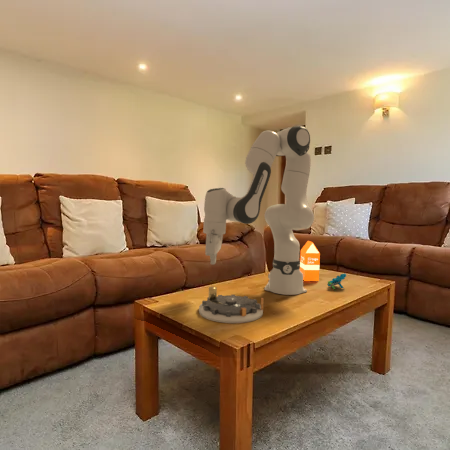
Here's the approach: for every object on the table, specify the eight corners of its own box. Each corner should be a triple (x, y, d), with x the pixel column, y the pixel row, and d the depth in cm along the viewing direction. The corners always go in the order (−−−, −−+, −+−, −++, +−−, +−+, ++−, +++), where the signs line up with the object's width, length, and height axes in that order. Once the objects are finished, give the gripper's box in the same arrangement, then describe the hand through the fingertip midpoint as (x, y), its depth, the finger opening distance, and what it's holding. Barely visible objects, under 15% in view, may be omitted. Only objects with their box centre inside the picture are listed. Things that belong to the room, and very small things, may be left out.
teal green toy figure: (337, 281, 163) (348, 270, 156) (344, 291, 160) (356, 280, 153) (321, 286, 157) (331, 275, 150) (328, 297, 154) (339, 286, 147)
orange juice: (313, 277, 177) (315, 240, 176) (319, 281, 168) (320, 242, 167) (299, 277, 177) (300, 240, 175) (303, 281, 168) (305, 242, 167)
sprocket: (207, 297, 131) (207, 283, 131) (259, 299, 129) (260, 285, 128) (197, 314, 110) (197, 298, 110) (259, 318, 108) (260, 301, 108)
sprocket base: (204, 300, 132) (204, 286, 132) (262, 303, 130) (263, 289, 130) (193, 321, 109) (193, 304, 109) (263, 325, 107) (264, 308, 107)
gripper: (219, 231, 120) (217, 269, 120) (225, 227, 140) (223, 260, 141) (202, 230, 120) (200, 268, 121) (210, 227, 141) (209, 259, 141)
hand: (213, 263), depth 131 cm, fingers closed
